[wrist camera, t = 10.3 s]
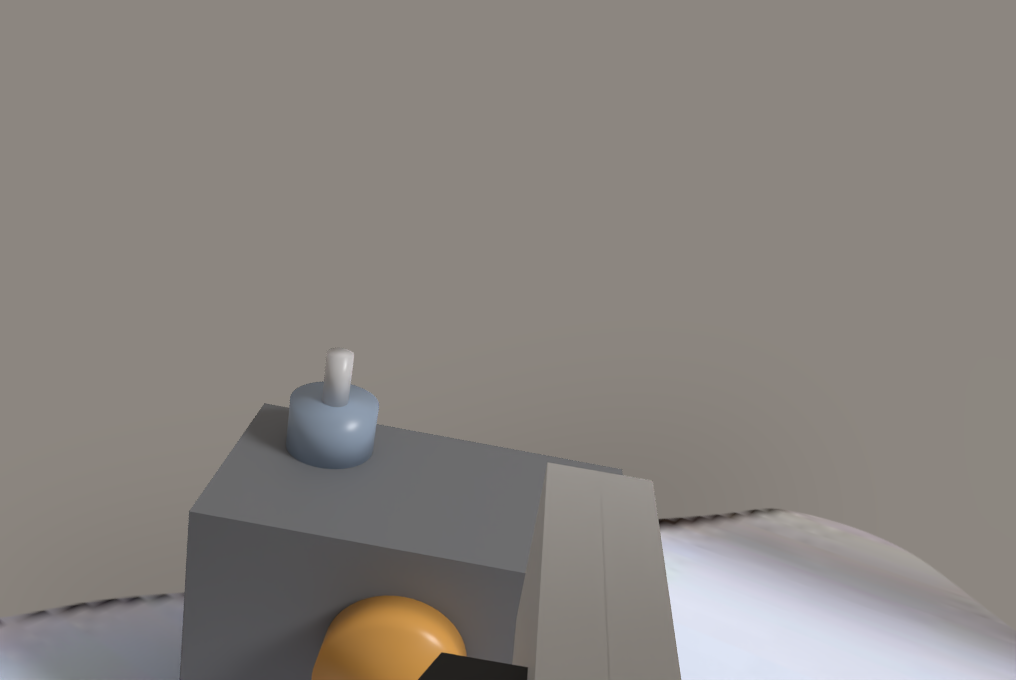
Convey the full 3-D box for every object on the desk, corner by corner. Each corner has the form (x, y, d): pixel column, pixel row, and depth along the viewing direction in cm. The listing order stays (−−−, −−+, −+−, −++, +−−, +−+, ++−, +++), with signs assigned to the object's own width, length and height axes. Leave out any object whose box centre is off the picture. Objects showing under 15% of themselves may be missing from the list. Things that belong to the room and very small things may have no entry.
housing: (567, 688, 53) (621, 469, 47) (565, 844, 43) (634, 593, 38) (245, 629, 52) (264, 403, 47) (174, 773, 43) (189, 511, 38)
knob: (468, 634, 46) (489, 530, 44) (449, 760, 39) (472, 643, 37) (346, 612, 46) (360, 507, 44) (304, 733, 39) (318, 614, 37)
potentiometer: (380, 434, 46) (392, 344, 45) (363, 475, 43) (376, 379, 41) (298, 419, 46) (307, 329, 44) (275, 459, 43) (284, 362, 41)
